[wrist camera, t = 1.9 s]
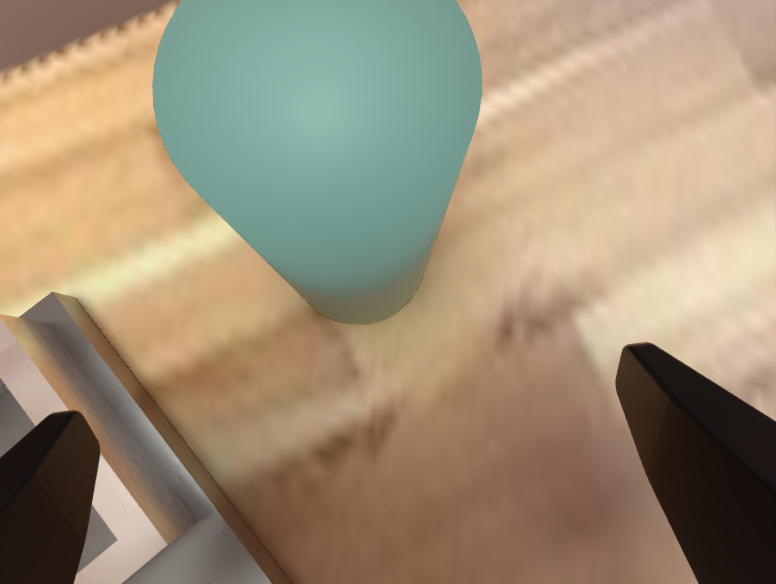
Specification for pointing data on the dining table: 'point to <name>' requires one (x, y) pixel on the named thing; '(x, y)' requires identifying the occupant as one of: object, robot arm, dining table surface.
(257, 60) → the teal tall cylinder
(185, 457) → the socket board
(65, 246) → the dining table surface
